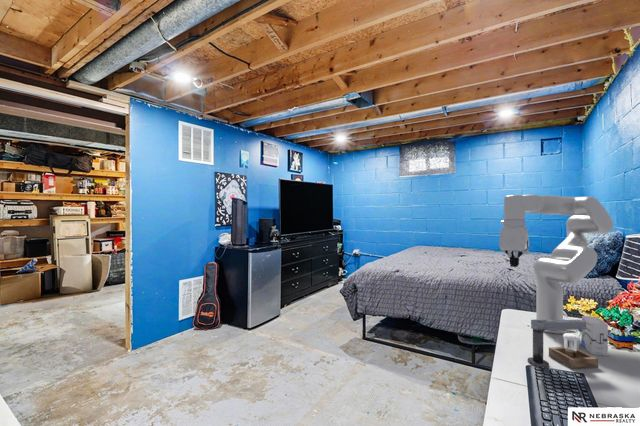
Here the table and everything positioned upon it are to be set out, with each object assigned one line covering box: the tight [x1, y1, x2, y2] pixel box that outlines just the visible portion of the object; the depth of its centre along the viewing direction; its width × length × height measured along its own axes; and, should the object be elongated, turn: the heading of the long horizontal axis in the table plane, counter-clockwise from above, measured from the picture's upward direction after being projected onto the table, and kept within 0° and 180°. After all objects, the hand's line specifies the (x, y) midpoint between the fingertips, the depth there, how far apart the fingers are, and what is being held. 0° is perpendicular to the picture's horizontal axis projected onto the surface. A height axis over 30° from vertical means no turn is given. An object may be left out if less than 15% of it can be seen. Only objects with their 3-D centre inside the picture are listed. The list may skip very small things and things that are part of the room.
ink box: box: [580, 315, 609, 357], centre depth 115 cm, size 9×5×12 cm, turn 160°
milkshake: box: [562, 331, 582, 358], centre depth 106 cm, size 4×5×10 cm
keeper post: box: [527, 329, 550, 369], centre depth 105 cm, size 6×6×12 cm
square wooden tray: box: [548, 346, 599, 370], centre depth 106 cm, size 9×9×3 cm
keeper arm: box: [530, 319, 586, 332], centre depth 105 cm, size 18×4×2 cm, turn 91°
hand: (514, 266), depth 130 cm, fingers closed
